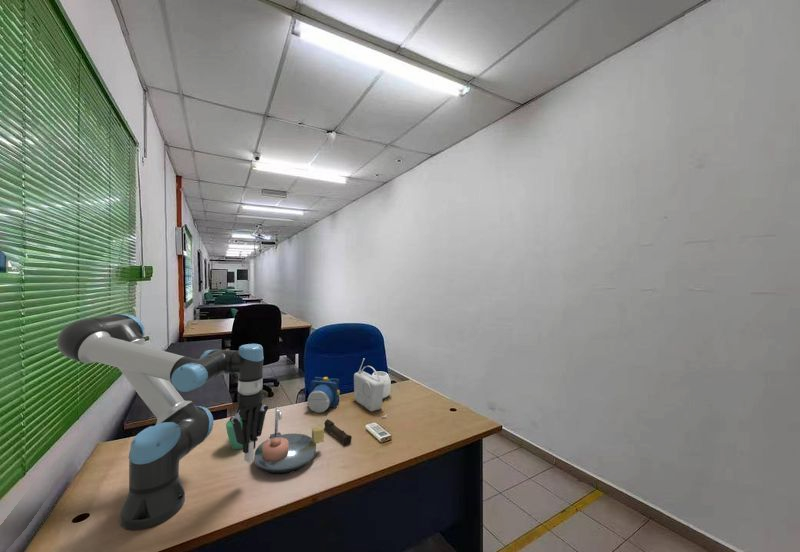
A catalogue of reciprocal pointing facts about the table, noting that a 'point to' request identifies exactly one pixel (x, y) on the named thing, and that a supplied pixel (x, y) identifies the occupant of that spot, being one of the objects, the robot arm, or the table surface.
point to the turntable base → (284, 471)
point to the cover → (275, 449)
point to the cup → (386, 381)
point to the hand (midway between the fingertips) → (248, 460)
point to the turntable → (292, 451)
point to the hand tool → (337, 432)
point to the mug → (233, 435)
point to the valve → (323, 394)
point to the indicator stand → (276, 422)
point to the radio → (368, 389)
